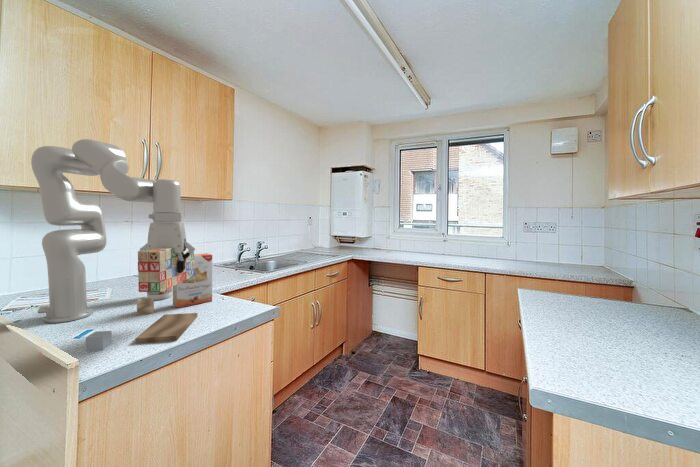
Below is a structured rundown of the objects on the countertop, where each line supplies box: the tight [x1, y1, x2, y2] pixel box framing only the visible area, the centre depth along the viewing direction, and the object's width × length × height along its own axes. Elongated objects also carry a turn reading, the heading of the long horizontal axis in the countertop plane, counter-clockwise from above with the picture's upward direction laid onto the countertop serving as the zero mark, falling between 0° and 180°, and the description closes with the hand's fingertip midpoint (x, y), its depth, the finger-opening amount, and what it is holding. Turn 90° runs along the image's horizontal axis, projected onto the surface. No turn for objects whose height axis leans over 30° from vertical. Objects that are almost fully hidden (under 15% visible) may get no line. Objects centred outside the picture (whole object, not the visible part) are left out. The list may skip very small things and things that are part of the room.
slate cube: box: [85, 330, 113, 352], centre depth 80 cm, size 4×4×4 cm
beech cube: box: [136, 297, 155, 317], centre depth 108 cm, size 5×5×5 cm
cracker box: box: [172, 252, 213, 309], centre depth 119 cm, size 14×6×21 cm, turn 137°
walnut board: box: [134, 312, 198, 344], centre depth 94 cm, size 11×20×2 cm, turn 12°
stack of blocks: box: [137, 248, 195, 293], centre depth 93 cm, size 21×6×12 cm, turn 4°
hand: (168, 272), depth 93 cm, fingers closed on stack of blocks, 6 cm apart
